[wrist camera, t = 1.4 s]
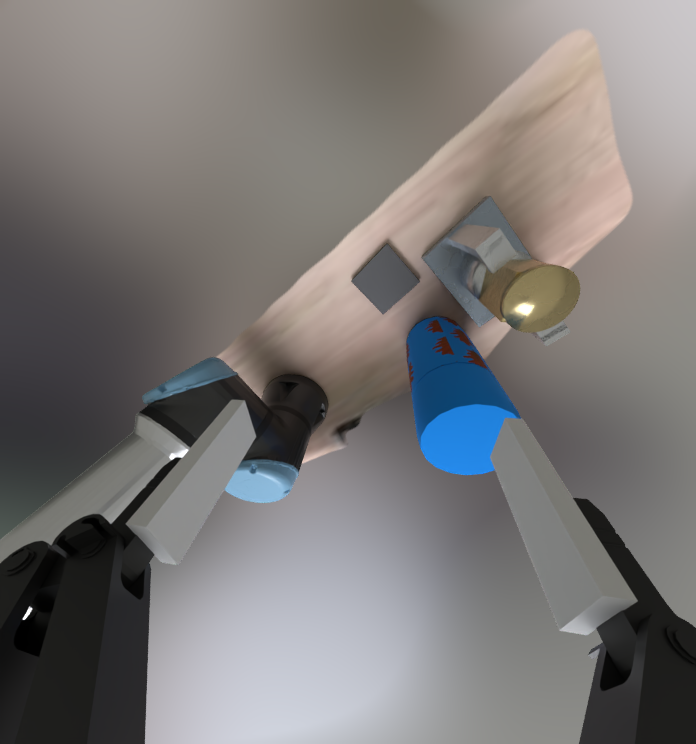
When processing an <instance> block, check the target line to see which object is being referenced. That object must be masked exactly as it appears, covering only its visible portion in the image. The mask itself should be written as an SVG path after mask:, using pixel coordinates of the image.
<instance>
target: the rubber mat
mask: <svg viewBox="0 0 696 744" xmlns="http://www.w3.org/2000/svg"><path fill="white" fill-rule="evenodd" d="M419 282H420V281H419V280H418V279H417V278H416V276H415V275H414V274H413V273H412V272H411V271H410V269H409V268H408V267H407V266H406V265H405V264H404V262H403V261H402V260H401V259H400V258H399V257H398V255H397V254H396V253H395V252H394V251H393V250H392V248H391V247H390V246H389V245H388V244H386V245H385V246H384V247H383V248H382V249H381V250H380V251H379V252H378V253H377V254H376V255H375V256H374V258H373V259H372V260H371V261H370V262H369V263H368V264H367V265H366V266H365V267H364V268H363V269H362V270H361V271H360V272H359V273H358V274H357V275H356V276H355V278H354V279H353V280H352V283H353V284H354V285H355V286H356V287H357V288H358V289H359V290H360V291H361V292H362V293H363V294H364V295H365V296H366V297H367V298H368V299H369V300H370V301H371V302H372V303H373V304H374V305H375V306H376V308H377V309H378V310H379V311H380V312H381V313H382V314H384V313H385V312H387V311H388V310H389V309H390V308H391V307H392V306H393V305H394V304H396V303H397V302H398V301H399V300H400V299H401V298H402V297H403V296H405V295H406V294H407V293H408V292H409V291H410V290H411V289H412V288H414V287H415V286H416V285H417V284H418V283H419Z"/></svg>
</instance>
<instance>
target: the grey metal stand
mask: <svg viewBox="0 0 696 744" xmlns="http://www.w3.org/2000/svg"><path fill="white" fill-rule="evenodd" d="M422 259H423V260H424V261H425V262H426V263H427V265H428V266H429V267H430V268H431V269H432V271H433V272H434V273H435V274H436V276H437V277H438V278H439V279H440V280H441V282H442V283H443V284H444V285H445V286H446V288H447V289H448V290H449V291H450V292H451V294H452V295H453V296H454V297H455V299H456V300H457V301H458V302H459V303H460V305H461V306H462V307H463V308H464V309H465V311H466V312H467V313H468V314H469V315H470V317H471V318H472V319H473V320H474V322H475V323H476V324H477V325H478V326H479V327H480V326H482V325H483V324H485V323H486V322H488V321H489V320H490V319H492V318H493V317H495V316H494V315H493V314H492V313H491V312H490V311H489V310H488V309H487V308H486V307H485V306H484V305H483V304H482V303H481V302H480V301H478V300H479V296H480V292H481V288H482V284H483V280H484V276H485V272H486V268H487V269H488V271H489V272H491V273H492V274H493V273H495V272H496V271H497V270H499V269H500V268H501V267H502V266H504V265H505V264H506V263H507V262H509V261H510V260H515V259H532V258H531V256H530V255H529V253H528V252H527V250H526V249H525V247H524V246H523V244H522V243H521V241H520V240H519V238H518V237H517V235H516V234H515V232H514V231H513V229H512V228H511V226H510V225H509V223H508V222H507V220H506V219H505V217H504V216H503V214H502V213H501V211H500V210H499V208H498V207H497V205H496V204H495V202H494V201H493V199H492V198H491V196H488V197H485V198H484V199H483V200H482V201H481V202H480V203H479V204H477V205H476V206H475V207H474V208H473V209H472V210H471V211H470V212H469V213H468V214H467V215H466V216H465V217H464V218H463V219H462V220H461V221H459V222H458V223H457V224H456V225H455V226H454V227H453V228H452V229H451V230H450V231H449V232H448V233H447V234H446V235H445V236H444V237H442V238H441V239H440V240H439V241H438V242H437V243H436V244H435V245H434V246H433V247H432V248H431V249H430V250H429V251H428V252H427V253H425V254H424V255H423V256H422ZM479 259H480V260H481V261H482V262H481V261H480V260H479ZM482 263H483V264H484V265H485V266H484V265H483V264H482ZM485 267H486V268H485ZM568 333H570V330H569V329H568V328H567V326H566V325H565V323H564V322H563V320H562V321H561V322H560V323H558V324H557V325H555V326H553V327H551V328H549V329H546V330H543V331H540V332H533V333H531V334H533V335H534V336H535V337H536V338H537V339H539V340H540V341H541V342H542V343H544V345H546V346H548V345H549V344H551V343H553V342H554V341H556V340H558V339H560V338H561V337H563V336H565V335H566V334H568Z"/></svg>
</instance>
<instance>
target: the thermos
mask: <svg viewBox="0 0 696 744" xmlns="http://www.w3.org/2000/svg"><path fill="white" fill-rule="evenodd" d="M407 363H408V371H409V378H410V386H411V393H412V401H413V409H414V416H415V424H416V431H417V438H418V441H419V445H420V448H421V450H422V452H423V454H424V456H425V457H426V459H427V460H428V461H429V462H430V463H432V464H433V465H434V466H435V467H437V468H439V469H442V470H444V471H447V472H449V473H454V474H462V475H473V474H484V473H487V472H490V471H493V470H495V469H494V466H493V464H492V461H491V459H490V456H491V453H492V451H493V448H494V446H495V443H496V440H497V438H498V435H499V432H500V430H501V427H502V425H503V422H504V419H505V418H516V419H521V417H520V415H519V413H518V411H517V409H516V408H515V406H514V405H513V403H512V402H511V400H510V399H509V397H508V396H507V394H506V393H505V391H504V390H503V388H502V387H501V386H500V384H499V382H498V381H497V379H496V378H495V376H494V375H493V373H492V372H491V370H490V369H489V367H488V366H487V364H486V362H485V361H484V359H483V358H482V356H481V355H480V353H479V352H478V350H477V349H476V347H475V346H474V344H473V343H472V341H471V340H470V338H469V337H468V335H467V334H466V333H465V332H464V331H463V330H462V328H461V327H460V326H459V325H458V324H457V323H456V322H455V321H453V320H451V319H449V318H446V317H431V318H427V319H424V320H423V321H421V322H420V323H418V324H416V325H415V327H414V328H413V329H412V330H411V331H410V333H409V336H408V338H407Z"/></svg>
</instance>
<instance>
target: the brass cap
mask: <svg viewBox="0 0 696 744" xmlns="http://www.w3.org/2000/svg"><path fill="white" fill-rule="evenodd" d="M479 260H480V259H479ZM480 261H481V260H480ZM481 262H482V261H481ZM482 264H483V263H482ZM483 265H484V264H483ZM484 266H485V265H484ZM485 268H486V267H485ZM579 294H580V284H579V280H578V278H577V276H576V275H575V274H574V272H572V271H570V270H569V269H567V268H564V267H561V266H558V265H553V264H546V263H543V262H540V261H536V260H533V259H515V260H510V261H509V262H507V263H506V264H505V265H504V266H502V267H501V268H500V269H499V270H497V271H496V272H495V273H493V274H492V273H491V272H489V271H488V269H487V268H486V272H485V276H484V280H483V284H482V288H481V292H480V296H479V300H478V301H480V302H481V303H482V304H483V305H484V306H485V307H486V308H487V309H488V310H489V311H490V312H491V313H492V314H493V315H494V316H495V317H496V318H498V319H499V320H500V321H501V322H507V323H508V324H509V325H510V326H511V327H513V328H514V329H516V330H518V331H521V332H529V333H533V332H540V331H543V330H546V329H549V328H551V327H553V326H555V325H557V324H558V323H560V322H561V321H562V320H564V319H565V318H566V317H567V316H568V315H569V314H570V312H571V311H572V310H573V308H574V307H575V305H576V303H577V301H578V298H579Z"/></svg>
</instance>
